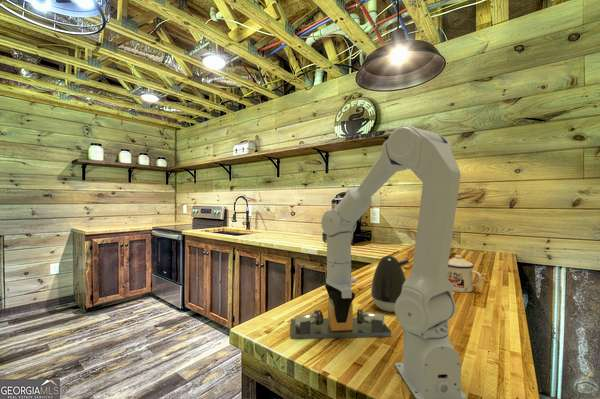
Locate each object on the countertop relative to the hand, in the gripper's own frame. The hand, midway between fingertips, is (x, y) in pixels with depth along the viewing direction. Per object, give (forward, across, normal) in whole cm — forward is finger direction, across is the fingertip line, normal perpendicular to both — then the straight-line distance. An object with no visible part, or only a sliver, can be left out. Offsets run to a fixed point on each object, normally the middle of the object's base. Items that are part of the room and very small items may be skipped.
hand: (339, 318), depth 66 cm
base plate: (+3, +1, 0) cm, 3 cm away
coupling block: (+2, 0, 0) cm, 2 cm away
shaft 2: (+2, -1, -7) cm, 8 cm away
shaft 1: (+3, 0, +7) cm, 8 cm away
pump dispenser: (+3, +12, -18) cm, 22 cm away
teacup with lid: (+3, +25, -50) cm, 56 cm away
